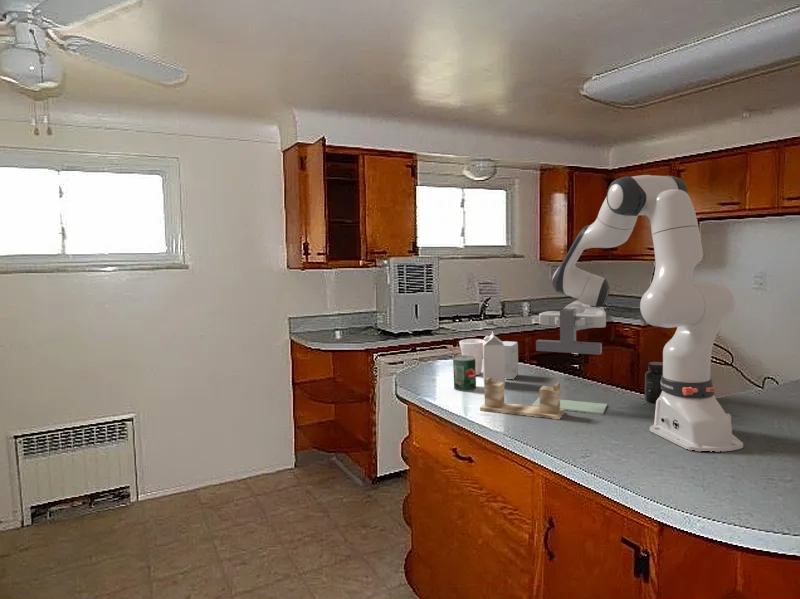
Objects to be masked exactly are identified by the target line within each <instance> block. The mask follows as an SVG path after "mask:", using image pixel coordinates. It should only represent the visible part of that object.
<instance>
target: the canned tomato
mask: <svg viewBox="0 0 800 599" xmlns="http://www.w3.org/2000/svg"><path fill="white" fill-rule="evenodd" d="M452 361H453V362H452V364H453V366H452V368H453V389H454V390H455V391H459V392H470V391H474V390H476V389H477V375H476V367H475V357H474V356H467V355H463V356H462V355H456V356H453V357H452Z"/></svg>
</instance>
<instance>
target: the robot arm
mask: <svg viewBox="0 0 800 599" xmlns="http://www.w3.org/2000/svg"><path fill="white" fill-rule="evenodd" d="M601 204H602V205H601V207H600V209H599V211H598V214H597V217H596V219H595V220H594V222H592V223H591V224H588V225H585V226H584V227H583V228H581V230H580V231H579V232H578V234H577V236H576V237H575V239H574V241H573V243H572V245H571V246H570V248H569V250H568V252H567V253H566V254H565V257H564V258H563V260H562V262H561V264H560V265H559V266H558V268H556V270H555V272H553V276H552V277H551V278H552V279H551V285H552V287H553V289H554V290H555V292H556V293H559V294H562V295H565V296H566V295H567V296H569V297H571V298H574V299H575V300H574V301H572V302H571V303H569V304H567V305H566V306H564V308H563V309H576V320H574V323H575V324H574V326H576V331H581V330H587V329H597V328H599V329H601V328H606V327H607V312H606V310H605V307H604V305H605V304H606V302H607V300H608V297H609V294H610V288H611V287H610V284H609V282H608V280H607V278H604V277H602V276H600V275H597V274H595V273H591V272H589V271H587V270H584V269H580V268H578V266H576V264H577V262H578V260H579V258H580V257H581V255H582V253H583V252H584V251H585V250H587V249H593V248H595V249H597V248H600V249H610V248H616V247H619V246H621V245H623V244H625V243H627V241H628V240H629V239H630V236H631V235H632V233H633V231H634V228H635V226H636V223H637V220H638V217H639V216H646V217H647V218H648V220H649V223H650V230H651V237H652V243H653V251H654V260H655V261H654V262H655V264H654V266H655V267H654V268H655V269H654V275H653V278H652V281H651V284H650V286H649V287H648V289H647V290H646V291H645V292H644V293H643V295H642V296H641V298H640V299H641V300H640V303H639V309H640V313H641V317H642V318H643V320H644V322H646V323H647V324H649V325H651V326H653V327H660V328H666V329H670V328H671V329H672V328H676V330H675V333H674V334H673V336H672V337H671V338H670V339H669V340H668V341H667V343H665V345H664V347H663V349H662V350H663V351H662V363H663V375H662V376H661V381H660V383H661V390H662V393H661V395H660V397H659V398H658V399H657V401H656V404H655V408H654V409H655V412H654V423H653V424H652V425H651V426H649V431H650V432H651V433H653V434H655V435H657V436H659V437H661V438H662V439H665V440H667V441H669V442H671V443H673V444H675V445H678V446H679V447H682V448H683V449H685V450H687V449H688V450H687V451H692V450H695V451H694V452H701V451H710V452H709V453H713V452H712V451H715V452H716V453H718V452H720V451H721V452H732V451H737V450H741V449H743V448H744V442H743V441H741V440H740V439H739V438H738V437H737V436H735V434H733V427H732V416H731V414H730V413H726V412H725V410H724V409H723V407H722V406H721V404H720V402H719V401H718V400H717V398H716V396H715V395H716V394H715V392H716V390H715V389H716V386H715V385H714V383H713V380H712V378H711V367H712V366H711V362H712V351H713V346H714V343H715V339H716V337H717V334H718V332H719V330H720V328H721V325H722V324H723V323H724V321H725V320H726V319H728V317H729V316H730V315H731V314H732V312H733V311H734V309H735V308H734V307H735V297H734V294H733V292H732V291H731V289H730V288H728V287H727V285H724V284H721V283H717V282H709V281H697V282H693V272H694V270H695V267H696V266H697V265H698V264H699V263H700V262H701V261H702V259H703V256H704V252H703V245H702V239H701V238H702V237H701V234H700V228H699V224H698V223H699V222H698V217H697V214H696V210H695V208H694V205H693V202H692V199H691V198H690V196H689V194H688V187H687V185H686V183H685V181H684V180H683V179H681V178H680V177H677V176H673V175H651V174H642V175H634V176H629V175H627V176H622V177H620V178H616V179H615V180H613V181H612V182H611V183H610V185H609V186H608V189H607V192H606V197H605V199H604V200H603V202H602V203H601ZM538 324H539V325H541V326H559V327H560V310H558V311H557V310H548V311H543V312H540V313H538ZM715 452H714V453H715Z"/></svg>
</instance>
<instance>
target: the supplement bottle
mask: <svg viewBox="0 0 800 599" xmlns="http://www.w3.org/2000/svg"><path fill="white" fill-rule="evenodd" d="M662 375H663V361H662V362H661V361H652V362H648V371H646V372H645V374H644V400H645V402H646V403H649V404H652V405H656V401H657V399H658V398H659V397H660V395H661V393H662V390H661V383H660V381H661V376H662Z"/></svg>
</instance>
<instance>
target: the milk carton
mask: <svg viewBox="0 0 800 599" xmlns="http://www.w3.org/2000/svg"><path fill="white" fill-rule="evenodd" d="M483 340H484V341H483V360H482V368H483V380H484V379H486V378H487V377H492V382H504V387H505V386H506V383H505V382H506V380H505V369H504V344H503V342H502V340H501V339H500V338H499V337H498V336H496V335H494V332H493V330H491V334H490V335H485V337H484V338H483Z"/></svg>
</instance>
